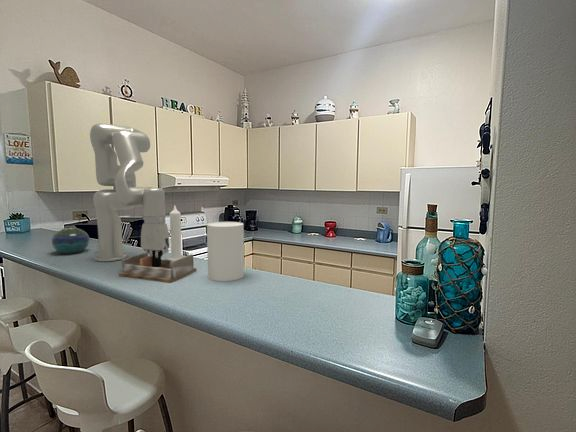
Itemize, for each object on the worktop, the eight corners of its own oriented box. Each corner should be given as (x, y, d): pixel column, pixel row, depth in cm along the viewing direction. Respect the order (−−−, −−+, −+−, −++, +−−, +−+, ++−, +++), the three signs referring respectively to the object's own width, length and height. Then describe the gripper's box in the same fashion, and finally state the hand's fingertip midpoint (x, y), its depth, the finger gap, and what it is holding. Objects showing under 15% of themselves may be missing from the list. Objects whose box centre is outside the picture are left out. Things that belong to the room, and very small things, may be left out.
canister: (236, 282, 114) (236, 227, 111) (201, 279, 116) (200, 225, 114) (248, 271, 127) (248, 222, 124) (217, 269, 129) (216, 221, 127)
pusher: (140, 272, 120) (139, 259, 120) (156, 265, 129) (156, 253, 128) (142, 272, 120) (142, 259, 119) (159, 266, 129) (158, 254, 128)
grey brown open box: (118, 276, 119) (118, 258, 118) (149, 265, 134) (148, 249, 134) (170, 282, 112) (169, 263, 112) (196, 270, 128) (195, 253, 127)
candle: (187, 258, 146) (185, 204, 144) (180, 262, 139) (179, 206, 137) (172, 258, 147) (171, 204, 144) (165, 262, 140) (163, 205, 137)
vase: (93, 252, 156) (91, 226, 155) (55, 257, 146) (53, 229, 144) (86, 247, 167) (84, 222, 166) (50, 252, 157) (48, 225, 155)
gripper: (131, 220, 120) (133, 267, 122) (164, 222, 116) (166, 271, 118) (145, 218, 127) (147, 262, 129) (177, 220, 123) (179, 266, 125)
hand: (156, 266), depth 123 cm, fingers closed
